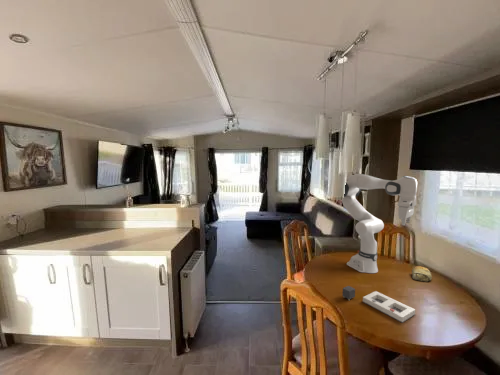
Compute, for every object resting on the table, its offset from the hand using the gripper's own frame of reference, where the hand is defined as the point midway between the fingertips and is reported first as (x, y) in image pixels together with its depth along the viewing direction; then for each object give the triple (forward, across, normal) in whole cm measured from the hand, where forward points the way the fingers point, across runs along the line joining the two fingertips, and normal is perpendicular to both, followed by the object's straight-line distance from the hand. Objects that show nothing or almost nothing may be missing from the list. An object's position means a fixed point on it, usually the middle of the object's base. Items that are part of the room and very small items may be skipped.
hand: (405, 223), depth 153 cm
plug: (+43, +36, -18) cm, 59 cm away
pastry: (+43, -27, +6) cm, 51 cm away
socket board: (+43, +30, +1) cm, 52 cm away
